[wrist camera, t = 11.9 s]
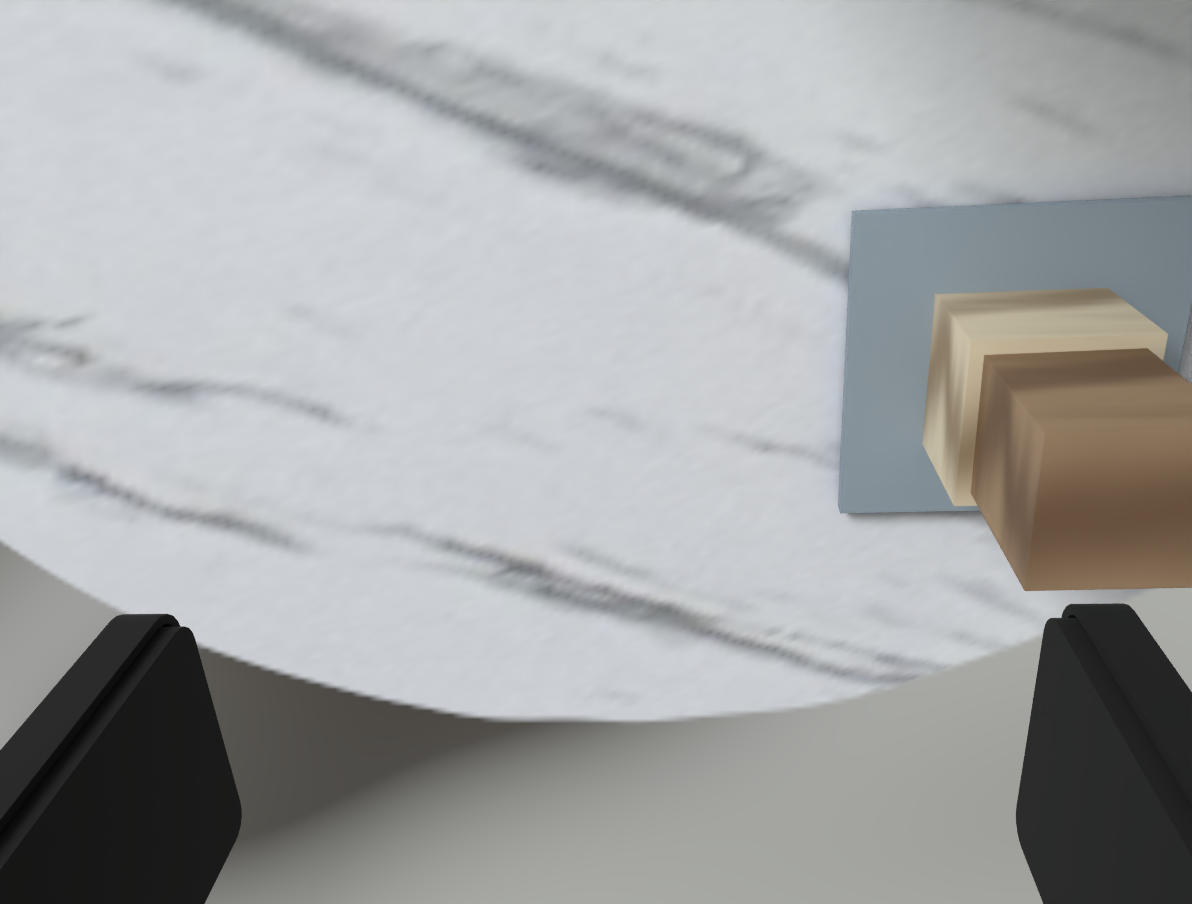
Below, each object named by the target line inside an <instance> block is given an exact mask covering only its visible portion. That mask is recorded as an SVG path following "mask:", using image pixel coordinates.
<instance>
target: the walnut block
mask: <svg viewBox="0 0 1192 904" xmlns="http://www.w3.org/2000/svg"><path fill="white" fill-rule="evenodd" d="M971 495H972V497H973V498H974V500H975V502H976V504H977V506H978V507H979V509H980V511H981V513H982V515H983V516H984V518H985V520H986V522H987V524H988V526H989V527H990V529H991V531H992V533H993V535H994V536H995V538H996V540H997V542H998V544H999V545H1000V547H1001V549H1002V551H1003V553H1004V554H1005V556H1006V558H1007V560H1008V562H1009V563H1010V565H1011V567H1012V569H1013V571H1014V573H1015V574H1016V576H1017V578H1018V580H1019V582H1020V583H1021V585H1022V587H1023V589H1024V591H1045V590H1094V589H1142V588H1188V587H1189V588H1191V587H1192V384H1190V383H1189V382H1188V381H1187V380H1186V379H1184V378H1183V377H1182V376H1181V375H1179V374H1178V373H1177V372H1176V371H1175V370H1173V369H1172V368H1171V367H1170V366H1169V365H1167V364H1166V363H1165V362H1164V361H1162V360H1161V359H1160V358H1159V357H1158V356H1156V355H1155V354H1154V353H1153V352H1152V351H1150V350H1149V349H1148V348H1140V349H1116V350H1092V351H1068V352H1043V353H1019V354H995V355H984V361H983V371H982V381H981V391H980V402H979V412H978V422H977V432H976V443H975V453H974V463H973V473H972V484H971Z"/></svg>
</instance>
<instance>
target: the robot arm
mask: <svg viewBox="0 0 1192 904" xmlns="http://www.w3.org/2000/svg"><path fill="white" fill-rule="evenodd" d="M241 813H242V812H241V804H240V799H239V795H238V792H237V788H236V785H235V781H234V778H233V774H232V770H231V767H230V764H229V760H228V756H227V753H226V749H225V745H224V742H223V738H222V735H221V731H220V728H219V724H218V720H217V716H216V713H215V709H214V706H213V702H212V699H211V695H210V691H209V688H208V684H207V680H206V677H205V673H204V670H203V666H202V662H201V659H200V655H199V652H198V648H197V644H196V641H195V638H194V635H193V633H192V631H191V630H190V629H189V628H187V627H180V625H179V622H178V621H177V620H176V619H175V617H174V616H172V615H169V614H123V615H119V616H116V617H115V618H114V619H112V620H111V621H110V622H109V623H108V625H107V626H106V627H105V628H104V629H103V631H102V632H101V633H100V634H99V635H98V636H97V638H96V639H95V640H94V641H93V642H92V644H91V645H90V646H89V647H88V648H87V649H86V651H85V652H84V653H83V654H82V655H81V656H80V658H79V659H78V660H77V661H76V662H75V663H74V665H73V666H72V667H71V668H70V669H69V670H68V672H67V673H66V674H65V675H64V676H63V677H62V679H61V680H60V681H59V682H58V684H57V685H56V686H55V687H54V688H53V689H52V690H51V692H50V693H49V694H48V695H47V696H46V698H45V699H44V700H43V701H42V702H41V703H40V704H39V706H38V707H37V708H36V709H35V710H34V712H33V713H32V714H31V715H30V716H29V717H28V719H27V720H26V721H25V722H24V723H23V725H22V726H21V727H20V728H19V729H18V730H17V731H16V733H15V734H14V735H13V736H12V737H11V739H10V740H9V741H8V742H7V743H6V744H5V746H4V747H3V748H2V749H1V750H0V904H204V903H205V901H206V899H207V897H208V895H209V893H210V891H211V889H212V887H213V885H214V883H215V881H216V879H217V877H218V875H219V873H220V871H221V869H222V867H223V865H224V863H225V861H226V859H227V857H228V855H229V853H230V851H231V849H232V847H233V845H234V843H235V841H236V839H237V836H238V833H239V830H240V825H241V817H242V816H241V815H242V814H241ZM1016 824H1017V832H1018V837H1019V841H1020V844H1021V847H1022V850H1023V853H1024V855H1025V858H1026V860H1027V863H1028V865H1029V868H1030V870H1031V873H1032V876H1033V878H1034V881H1035V883H1036V886H1037V888H1038V891H1039V893H1040V896H1041V898H1042V901H1043V904H1192V692H1191V691H1190V689H1189V688H1188V686H1187V685H1186V684H1185V682H1184V681H1183V679H1182V678H1181V676H1180V675H1179V674H1178V672H1177V671H1176V669H1175V668H1174V667H1173V665H1172V664H1171V662H1170V661H1169V659H1168V658H1167V657H1166V655H1165V654H1164V652H1163V651H1162V649H1161V648H1160V647H1159V645H1158V644H1157V642H1156V641H1155V640H1154V638H1153V637H1152V635H1151V634H1150V632H1149V631H1148V630H1147V628H1146V627H1145V626H1144V624H1143V623H1142V621H1141V620H1140V618H1139V617H1138V615H1137V614H1136V613H1135V611H1134V610H1133V609H1132V608H1131V607H1130V606H1129V605H1126V604H1070V605H1068V606H1066V608H1065V610H1064V611H1063V614H1062V618H1050V619H1049V620H1048V621H1047V622H1046V624H1045V628H1044V633H1043V639H1042V646H1041V652H1040V659H1039V665H1038V672H1037V678H1036V685H1035V691H1034V698H1033V704H1032V710H1031V717H1030V723H1029V730H1028V736H1027V743H1026V749H1025V756H1024V762H1023V769H1022V775H1021V781H1020V788H1019V794H1018V801H1017V808H1016Z"/></svg>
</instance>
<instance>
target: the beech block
mask: <svg viewBox="0 0 1192 904" xmlns="http://www.w3.org/2000/svg"><path fill="white" fill-rule="evenodd" d="M1167 338H1168V333H1166V332H1165V331H1164V330H1162V329H1161V328H1160V327H1159V326H1157V325H1156V324H1155V323H1153V322H1152V321H1151V320H1149V319H1148V318H1147V317H1145V316H1144V315H1143V314H1141V313H1140V312H1139V311H1137V310H1136V309H1135V308H1134V307H1132V306H1131V305H1130V304H1128V303H1127V302H1126V301H1124V300H1123V299H1122V298H1120V297H1119V296H1118V295H1116V294H1115V293H1114V292H1112V291H1111V290H1110V289H1109V288H1087V289H1060V290H1033V291H1006V292H979V293H952V294H935V301H934V313H933V325H932V337H931V348H930V360H929V372H928V384H927V395H926V407H925V419H924V431H923V442H922V444H923V446H924V448H925V450H926V452H927V454H928V456H929V458H930V460H931V462H932V464H933V466H934V468H935V470H936V472H937V474H938V476H939V478H940V480H941V482H942V484H943V486H944V487H945V489H946V491H947V493H948V495H949V497H950V499H951V501H952V503H953V505H954V506H977V504H976V502H975V500H974V498H973V497H972V495H971V484H972V473H973V463H974V453H975V443H976V432H977V422H978V412H979V402H980V391H981V381H982V371H983V361H984V355H995V354H1019V353H1043V352H1068V351H1092V350H1116V349H1140V348H1148V349H1149V350H1150V351H1152V352H1153V353H1154V354H1155V355H1156V356H1158V357H1159V358H1160V359H1161V360H1162V361H1163V359H1164V354H1165V349H1166V343H1167Z"/></svg>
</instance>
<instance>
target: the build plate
mask: <svg viewBox="0 0 1192 904" xmlns="http://www.w3.org/2000/svg"><path fill="white" fill-rule="evenodd" d="M1087 288H1109V289H1110V290H1111V291H1112V292H1114V293H1115V294H1116V295H1118V296H1119V297H1120V298H1122V299H1123V300H1124V301H1126V302H1127V303H1128V304H1130V305H1131V306H1132V307H1134V308H1135V309H1136V310H1137V311H1139V312H1140V313H1141V314H1143V315H1144V316H1145V317H1147V318H1148V319H1149V320H1151V321H1152V322H1153V323H1155V324H1156V325H1157V326H1159V327H1160V328H1161V329H1162V330H1164V331H1165V332H1166V333H1168V338H1167V343H1166V349H1165V354H1164V359H1163V361H1164V362H1165V363H1166V364H1167V365H1169V366H1170V367H1171V368H1172V369H1173V370H1175V371H1176V372H1177V373H1178V371H1179V366H1180V361H1181V356H1182V351H1183V346H1184V341H1185V336H1186V331H1187V326H1188V321H1189V316H1190V311H1191V305H1192V196H1176V197H1153V198H1131V199H1108V200H1086V201H1063V202H1041V203H1018V204H996V205H973V206H951V207H928V208H906V209H883V210H861V211H852V223H851V244H850V265H849V286H848V308H847V329H846V350H845V371H844V392H843V413H842V434H841V456H840V477H839V498H838V507H839V511H840V513H877V512H930V511H980V509H979V507H978V506H954V505H953V503H952V501H951V499H950V497H949V495H948V493H947V491H946V489H945V487H944V486H943V484H942V482H941V480H940V478H939V476H938V474H937V472H936V470H935V468H934V466H933V464H932V462H931V460H930V458H929V456H928V454H927V452H926V450H925V448H924V446H923V444H922V442H923V431H924V419H925V407H926V395H927V384H928V372H929V360H930V348H931V337H932V325H933V313H934V301H935V294H952V293H979V292H1006V291H1033V290H1060V289H1087Z"/></svg>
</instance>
